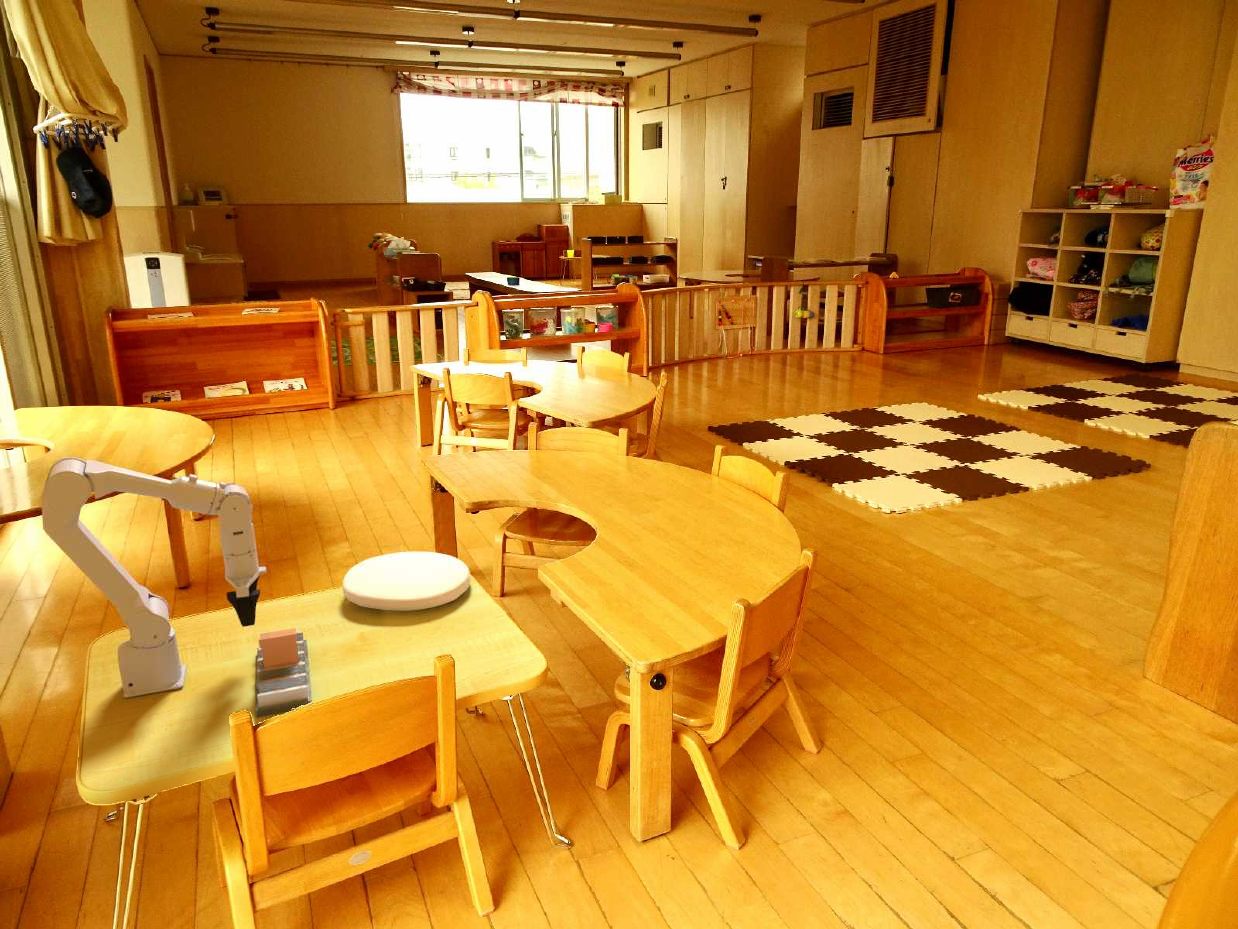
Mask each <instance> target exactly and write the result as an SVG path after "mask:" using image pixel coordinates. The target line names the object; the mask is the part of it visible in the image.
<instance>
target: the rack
mask: <svg viewBox="0 0 1238 929" xmlns="http://www.w3.org/2000/svg"><path fill="white" fill-rule="evenodd" d="M296 638H297V646H298V654H299V662H300V663H294V664H289V665H283V666H277V667H272V668H266V669H264V664H263V657H262V650H261V643H260V637H258V646H259V647H257V648H256V649H257V650H256V685H255V686H256V689H255V690H256V692H255V693H256V695H255V715H256V718H260V717H261V718H262V717H265V716H270V715H274V714H275V715H276V714H281V713H284V712H289V711H288V710H291V709H292V708H297V707H299V706H301V705H306V704H308V703H310V702H312V703H313V698H312V689H311V688H312V687H311V679H310V678H311V677H310V676H311V675H310V665H309V654H308V644H307V639H304V633H303V630H299V631H297V630H296ZM291 711H292V710H291Z"/></svg>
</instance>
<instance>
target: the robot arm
mask: <svg viewBox="0 0 1238 929" xmlns="http://www.w3.org/2000/svg"><path fill="white" fill-rule="evenodd" d="M113 492H121V493H125V494H126V493H127V494H133V495H138V496H139V495H140V496H147V497H152V498H157V499H158V498H159V499H163V500H165V499H166V500H167V501H168V503H169V504H170V506H171V507H172V508H174V509H178V510H184V511H189V512H195V513H200V514H204V515H209V516H215V515H217V516H218V519H219V523H220V524H219V528H218V529H219V530H218V531H219V536H220V542H221V548H222V549H221V550H222V556H223V563H224V571H225V573H224V578H225V580H226V582H228V583H229V584H230V585H231V586H232V587H233V588H234V589H235V590H234V591H227V592H226V599H227V601H228V602H229V604H231V606H232V607H233V608H234V610H235V613H236V615H237V617H238V620H239V622H240V624H241V627H244V628H245V627H251V626H255V623H256V617H257V615H256V613H257V612H256V611H257V604H258V601H259V598H260V594H261V589H260V588H259V589H257V587H258V582H259V579H260V577H261V575H265V574H266V573H267V567H266V566H260V565H259V559H258V552H257V551H258V550H257V543H256V542H257V541H256V536H255V535H256V534H255V528H254V523H253V522H252V521H253V519H252V518H253V517H252V513H253V509H254V506H253V504H252V502H251V499H250V496H249V494H248V492H247V490H246V489H245V488H244V487H242V486H241V485H239V484H236V483H234V482H227V483H226V482H223V481H220V482H219V483H216V482H212V481H209V480H202V479H198V475H197V474H189V475H188V476H184V475H181V476H179V477H176V478H174V479H171V480H170V479H166V478H162V477H159V476H154V475H150V474H147V473H143V472H139V471H135V470H131V469H129V468H128V469H127V468H123V467H120V466H117V465H116V466H115V465H113V464H108V463H105V462H101V461H97V460H94V459H93V460H92V459H87V460H86V461H85V460H84V459H81V458H78V457H73V456H68V457H63V458H61V459H59V460H57V461H56V462H54V463H53V464H52V466H51V467H50V470H49V471H48V475H47V477H46V480H45V482H44V487H43V489H42V492H41V496H40V501H41V512H42V513H41V514H42V515H41V518H42V529H43V531H44V532H45V533H46V535H47V536H48V537H49V538H50V539H51V540H52V542H54V543H55V545H57V546H58V548H59V549H61V551H62V552H63V553H64V554H65V555H66V556H67V557H68V558H69V559H70V560H71V561H72V562H73V563H74V565H75V566H76V567H77V568H78V569H79V570H80V571H81V572H82V573H83V574H84V575H85V576H86V577H87V578H88V579H89V581H91V583H92V584H93V585H94V586H95V587H96V588H97V589H98V590H99V591H100V592H101V593H102V594H103V596H104V597H106V598H107V600H109V601H110V603H111V604H113V606H114V607H115V609H116V611H117V613H118V615H119V617H120V619H121V621H122V622H123V623H124V625H125V626H126V627H127V628H128V632H129V636H130V638H129V640H127V641H122V642H120V643H119V644H118V646H117V663H118V669H119V674H120V675H119V676H120V679H121V686H122V689H123V698H132V697H138V696H143V695H149V694H153V693H160V692H165V691H169V690H177V689H181V688H184V682H185V679H186V678H185V677H186V673H187V672H186V671H187V664H181V659H180V653H179V646H178V641H177V636H176V630H175V629H174V628H173V627H172V626H171V623H170V618H169V613H170V606H169V603H168V602H167V600H166V599H164V597H162V596H159V595H157V594H154V593H152V592H151V591H150V590H149V589H148V588H147V587H145V585H144V586H143V585H141V584H139V583H138V582H137V581H136V579H135V578H133V576H132V575H130V573H129V572H128V571H127V570H126V569H125V568H124V566H123V565H121V563H120V562H119V561H118V560H117V559H116V558H115V557H114V556H113V555H112V553H111V552H110V551H109V550H108V549H107V548H106V547H105V546H104V544H103V543H102V542H101V541H100V540H99V539H98V538H97V537H96V536H95V535H94V534H93V533H92V531H90V529H89V528H88V527H87V525H85V523H84V522H83V521H81V519H80V514H81V511H82V510H81V509H82V508H83V507H84V505H85V504H86V503H87V501H88V499H89V498H90V496H91V493H94V499H99V498H102V497H104V496H107V495H109V494H111V493H113Z"/></svg>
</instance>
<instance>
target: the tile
mask: <svg viewBox="0 0 1238 929" xmlns="http://www.w3.org/2000/svg"><path fill="white" fill-rule="evenodd" d="M296 632H297V630H296V628H287V629H282V630H281V629H280V630H275V631H271V632H270V631H269V632H264V633H263V632H262V633H260V634H259V638H260V643H261V650H262V657H263V664H264V669H266V668H272V667H277V666H283V665H289V664H294V663H300V662H299V654H298V646H297V638H296Z"/></svg>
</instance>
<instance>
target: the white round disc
mask: <svg viewBox="0 0 1238 929" xmlns="http://www.w3.org/2000/svg"><path fill="white" fill-rule="evenodd" d="M469 575H470V576H469ZM471 577H472V576H471V572H470V569H469V567H468V565H467V564H465V562H463V561H462V560H460V559H459V558H457V557H455V556H452V555H449V554H444V553H441V552H440V553H439V552H433V551H401V552H400V551H399V552H394V553H389V554H382V555H378V556H373V557H371V558H368V559H367V558H366V559H364V560H363V561H361V562H359V563H357V564H355V565H354V566H352V567H351V568H350V569H349V570H348V571H347V572H346V574H345V575H344V577H343V581H342V593H343V595H344V597H345V598H346V599H347V600H348V601H349V602H352V603H353V604H355V605H357V606H359V607H363V608H364V607H365V608H370V609H377V610H384V611H399V612H401V611H405V612H406V611H418V610H419V611H420V610H425V609H431V608H434V607H439V606H442V605H446V604H447V603H450V602H452V601H453V602H454V601H455V600H457V599H458V598H459V597H460V596H461V595H463V594H464V593H465V592H466V591H467V590H468V588H469V587H470V585H471Z"/></svg>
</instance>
